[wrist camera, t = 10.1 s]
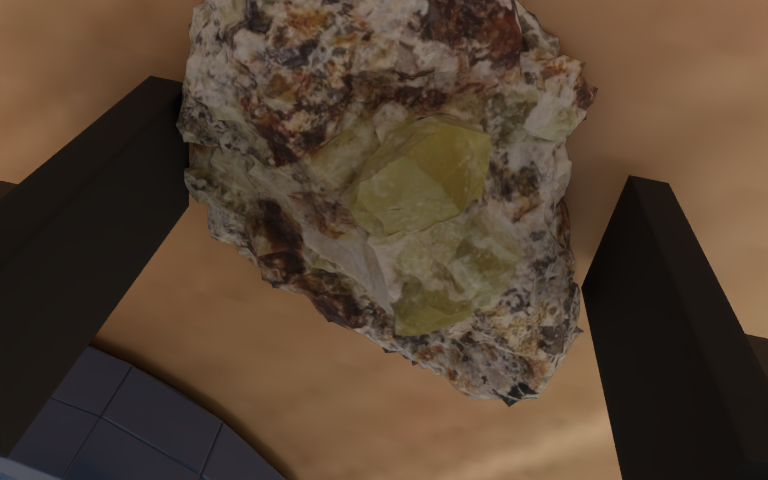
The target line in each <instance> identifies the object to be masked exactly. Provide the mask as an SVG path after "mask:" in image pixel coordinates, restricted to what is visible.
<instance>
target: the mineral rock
mask: <svg viewBox="0 0 768 480" xmlns="http://www.w3.org/2000/svg"><path fill="white" fill-rule="evenodd" d="M189 37H190V41H191V49H190V56H189V57H188V60H187V67H186V73H185V78H184V82H183V87H182V101H181V108H180V113H179V116H178V119H177V122H176V127H177V128H178V130H179V131H178V134H177V135H180V134H182V137H183V141H184V142H193V143H194V147H195V149H194V152H193V155H192V158H191V161H190V163H189V167H188V168H185V169H184V181H185V185H186V187H187V189H188V191H189V192H190V194H191V195H192V197H193V198H194V199H195V200H196V201H197V202H198V203H201V202H208V203H209V204H210V205H209V209H208V228H209V231H210V234H211V238H214V239H216V240H219V241H222V242H225V243H228V244H232V245H235V246H236V248H237V251H238V253H239V254H240V255H241V256H243V257H244V258H246V259H247V260H249V261H250V262H251V263H252V264H253V265H255V266H256V267H257V268H258V269H259V270H260V271H261V275H262V280H264V281H266V282H268V283H270V284H272V286H273V288H279V289H283V290H286V291H290V292H294V293H297V294H305V295H306V296H307V297H308V298H309V299H310V300H311V302H312V303H313V305H314V306H315V308H316V309H317V310H318V312H319V313H320V314H323V315H324V317H325V318H326V319H327V321H328V322H334V323H336V324H338V325H340V326H342V327H344V328H347V329H349V330H352V331H356V332H359V333H361V334H363V335H364V336H366V337H367V338H368V339H370V340H371V341H373V342H375V343H377V344H378V345H380V346H382V347H383V349H384V351H385V353H392V352H399V353H400V354H402V355H403V356H404V358H405V359H409V360H412V364H413V366H414V365H416V364H418V363H419V365H420V366H421V368H431V369H432V370H433V372H434V374H435V375H442V376H444V377H445V378H447V379H448V381H449V382H450V383H451V384H452V385H453V386H454V387H455V388H456V389H457V390H459V391H460V392H461V393H463V394H465V395H466V396H468V397H470V398H471V399H475V400H481V399H492V400H495V399H502V400H503V401H504V402H505V403H506V404H507V405H508V406H509V407H510V406H511V405H513V404H514V403H516V402H517V401H525V400H532V399H537V398H538V396H539V395H540V394H541V393H542V391H543V390H544V389H545V387H546V386H547V384H548V382H549V381H550V379H551V377H552V376H553V372H554V371H555V370H556V369H557V368H558V367H559V366H560V365H561V364H562V362H563V360H564V358H565V356H566V354H567V352H568V350H569V348H570V346H571V344H572V342H573V341H574V339H575V338H577V337H578V336H579V335H580V334H582V333H583V332H584V331H583V330H581V329H579V328H578V327H577V322H578V318H579V313H580V290H579V287H578V284H576V283H574V282H572V281H573V275H574V270H573V268H572V265H573V263H574V257H573V253H572V251H571V249H570V246H569V240H570V222H569V215H568V209H567V207H566V204H565V202H564V199H563V198H564V197H565V195H566V191H567V188H568V185H569V182H570V176H571V169H572V162H571V160H570V157H569V155H568V152H567V150H566V147H565V144H566V142H567V138H568V137H569V136H570V135H571V134H572V132H573V131H574V130H575V129H576V127H577V126H578V125H579V124H580V123H581V121H583V120H586V111H587V108H588V107H589V106H590V105H591V104H592V103H593V102H594V99H595V96H596V93H597V90H598V88H596V87H594V86H592V85H589V84H588V83H587V82H586V81H585V80H584V79H583V78H582V77H581V75H580V74H581V72H582V70H583V67H584V65H585V63H584V62H581V61H579V60H576V59H573V58H571V57H568V56H566V55H561V56H558V54H559V49H560V46H559V38H558V37H555V36H553V35H550V34H547V33H545V32H544V31H543V29H542V28H541V27H540V25H539V23H538V21H537V18H536V16H535V15H534V14H531V13H528V12H527V11H526V10H525V9H524V8H523V7H522V5H521V4H520V3H519V2H518V1H517V0H205V1H204V2H202V3H200V4H197V5H195V6H193V17H192V21H191V23H190V24H189Z"/></svg>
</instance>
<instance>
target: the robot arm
mask: <svg viewBox="0 0 768 480" xmlns="http://www.w3.org/2000/svg"><path fill="white" fill-rule="evenodd" d="M182 87H183V82H178V81H174V80H169V79H164V78H159V77H154V76H149V77H148V78H147V79H146V80H145V81H143V82H142V83H141V84H140V85H139V86H137V87H136V88H135V89H134V90H132V91H131V92H130V93H129V94H128V95H126V96H125V97H124V98H123V99H122V100H120V101H119V102H118V103H117V104H115V105H114V106H113V107H112V108H111V109H109V110H108V111H107V112H106V113H105V114H103V115H102V116H101V117H100V118H98V119H97V120H96V121H95V122H94V123H92V124H91V125H90V126H89V127H87V128H86V129H85V130H84V131H83V132H81V133H80V134H79V135H78V136H77V137H75V138H74V139H73V140H72V141H70V142H69V143H68V144H67V145H66V146H64V147H63V148H62V149H61V150H60V151H58V152H57V153H56V154H55V155H53V156H52V157H51V158H50V159H49V160H47V161H46V162H45V163H44V164H43V165H41V166H40V167H39V168H38V169H36V170H35V171H34V172H33V173H32V174H30V175H29V176H28V177H27V178H26V179H24V180H23V181H22V182H21V183H19V184H13V183H9V182H4V181H0V457H4V458H7V457H8V455H9V454H10V453H11V451H12V450H13V449H14V447H15V446H16V444H17V443H18V442H19V440H20V439H21V437H22V436H23V435H24V433H25V432H26V431H27V429H28V428H29V426H30V425H31V424H32V422H33V421H34V419H35V418H36V417H37V415H38V414H39V413H40V411H41V410H42V408H43V407H44V406H45V404H46V403H47V401H48V400H49V399H50V397H51V396H52V395H53V393H54V392H55V390H56V389H57V388H58V386H59V385H60V383H61V382H62V381H63V379H64V378H65V377H66V375H67V374H68V372H69V371H70V370H71V368H72V367H73V365H74V364H75V363H76V361H77V360H78V359H79V357H80V356H81V354H82V353H83V352H84V350H85V349H86V347H87V346H88V345H89V343H90V342H91V341H92V339H93V338H94V336H95V335H96V334H97V332H98V331H99V329H100V328H101V327H102V325H103V324H104V323H105V321H106V320H107V318H108V317H109V316H110V314H111V313H112V311H113V310H114V309H115V307H116V306H117V305H118V303H119V302H120V300H121V299H122V298H123V296H124V295H125V293H126V292H127V291H128V289H129V288H130V287H131V285H132V284H133V282H134V281H135V280H136V278H137V277H138V275H139V274H140V273H141V271H142V270H143V269H144V267H145V266H146V264H147V263H148V262H149V260H150V259H151V257H152V256H153V255H154V253H155V252H156V251H157V249H158V248H159V246H160V245H161V244H162V242H163V241H164V239H165V238H166V237H167V235H168V234H169V233H170V231H171V230H172V228H173V227H174V226H175V224H176V223H177V221H178V220H179V219H180V217H181V216H182V215H183V213H184V212H185V210H186V209H187V208H188V206H189V191H188V189H187V187H186V185H185V181H184V169H185V168H188V167H189V142H184V141H183V137H182V134H180V135H177V134H178V131H179V130H178V128H177V127H176V122H177V119H178V116H179V113H180V108H181V101H182ZM581 289H582V294H583V298H584V303H585V308H586V312H587V317H588V322H589V326H590V331H591V336H592V340H593V345H594V350H595V354H596V359H597V364H598V368H599V373H600V377H601V382H602V387H603V391H604V396H605V401H606V405H607V410H608V415H609V419H610V424H611V429H612V433H613V438H614V443H615V447H616V452H617V457H618V461H619V466H620V471H621V475H622V480H768V339H767V338H762V337H757V336H753V335H748V334H745V333H744V331H743V329H742V327H741V325H740V323H739V321H738V319H737V317H736V315H735V313H734V311H733V309H732V307H731V305H730V303H729V301H728V299H727V297H726V296H725V294H724V292H723V290H722V288H721V286H720V284H719V282H718V280H717V278H716V276H715V274H714V272H713V270H712V268H711V266H710V264H709V262H708V260H707V258H706V256H705V254H704V252H703V250H702V248H701V246H700V244H699V242H698V240H697V238H696V236H695V234H694V232H693V230H692V228H691V226H690V225H689V223H688V221H687V219H686V217H685V215H684V213H683V211H682V209H681V207H680V205H679V203H678V201H677V199H676V197H675V195H674V193H673V191H672V189H671V187H670V185H669V183H665V182H660V181H655V180H650V179H646V178H641V177H636V176H631V175H629V177H628V179H627V181H626V184H625V186H624V188H623V191H622V193H621V195H620V198H619V200H618V202H617V205H616V207H615V209H614V212H613V214H612V216H611V219H610V221H609V224H608V226H607V228H606V231H605V233H604V235H603V238H602V240H601V242H600V245H599V247H598V249H597V252H596V254H595V256H594V259H593V261H592V263H591V266H590V268H589V270H588V273H587V275H586V278H585V280H584V282H583V285H582V287H581Z"/></svg>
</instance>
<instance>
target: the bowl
mask: <svg viewBox="0 0 768 480" xmlns="http://www.w3.org/2000/svg"><path fill="white" fill-rule="evenodd" d="M0 480H286V479H285V478H284V477H283V476H282V475H281V474H280V473H279V472H278V471H276V470H275V469H274V468H273V467H272V466H271V465H270V464H269V463H268V462H267V461H266V460H265V459H264V458H263V457H262V456H261V455H260V454H259V453H258V452H257V451H256V450H255V449H254V448H253V447H252V446H251V445H250V444H249V443H247V442H246V441H245V440H244V439H243V438H241V437H240V436H239V435H238V434H237V433H235V432H234V431H233V430H232V429H231V428H230V427H229V426H228V425H227V424H226V423H223V422H222V421H221V420H220V419H219V418H217V417H216V416H215V415H213V414H212V413H210V412H209V411H207V410H206V409H204V408H203V407H201V406H200V405H198V404H197V403H196V402H194V401H193V400H191V399H190V398H188V397H187V396H185V395H184V394H182V393H181V392H179V391H178V390H176V389H174V388H173V387H171V386H169V385H167V384H166V383H164V382H162V381H160V380H158V379H157V378H155V377H153V376H151V375H149V374H148V373H146V372H144V371H142V370H140V369H139V368H137V367H135V366H133V365H131V364H130V363H127V362H125V361H122V360H120V359H118V358H116V357H114V356H111V355H109V354H107V353H105V352H102V351H100V350H98V349H96V348H94V347H91V346H89V345H88V346H87V347H86V349H85V350H84V352H83V353H82V354H81V356H80V357H79V359H78V360H77V361H76V363H75V364H74V365H73V367H72V368H71V370H70V371H69V372H68V374H67V375H66V377H65V378H64V379H63V381H62V382H61V383H60V385H59V386H58V388H57V389H56V390H55V392H54V393H53V395H52V396H51V397H50V399H49V400H48V401H47V403H46V404H45V406H44V407H43V408H42V410H41V411H40V413H39V414H38V415H37V417H36V418H35V419H34V421H33V422H32V424H31V425H30V426H29V428H28V429H27V431H26V432H25V433H24V435H23V436H22V437H21V439H20V440H19V442H18V443H17V444H16V446H15V447H14V449H13V450H12V451H11V453H10V454H9V455H8V457H7V458H4V457H0Z"/></svg>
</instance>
